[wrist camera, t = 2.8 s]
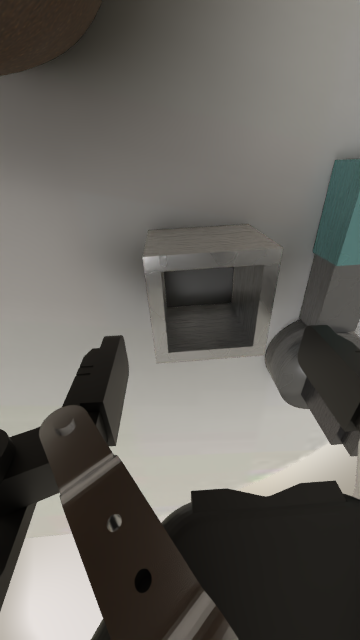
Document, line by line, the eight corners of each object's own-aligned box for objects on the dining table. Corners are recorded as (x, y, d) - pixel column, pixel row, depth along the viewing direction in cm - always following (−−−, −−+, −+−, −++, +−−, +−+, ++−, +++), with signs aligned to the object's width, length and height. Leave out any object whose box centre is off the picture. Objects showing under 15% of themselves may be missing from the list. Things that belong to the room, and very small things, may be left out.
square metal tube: (148, 230, 14) (142, 257, 10) (248, 224, 15) (283, 247, 10) (158, 316, 18) (156, 363, 14) (240, 310, 18) (264, 355, 14)
